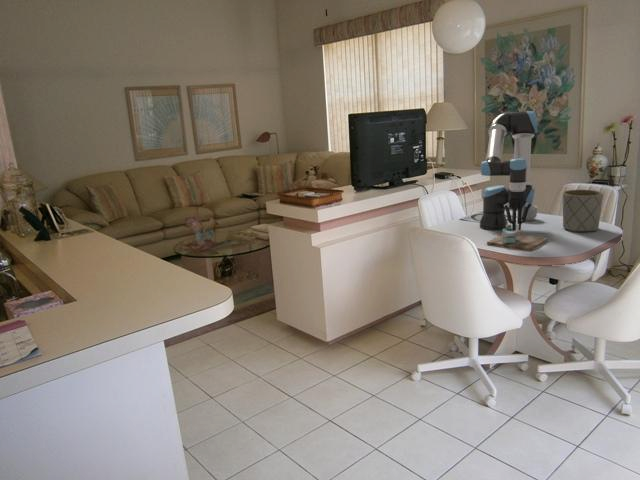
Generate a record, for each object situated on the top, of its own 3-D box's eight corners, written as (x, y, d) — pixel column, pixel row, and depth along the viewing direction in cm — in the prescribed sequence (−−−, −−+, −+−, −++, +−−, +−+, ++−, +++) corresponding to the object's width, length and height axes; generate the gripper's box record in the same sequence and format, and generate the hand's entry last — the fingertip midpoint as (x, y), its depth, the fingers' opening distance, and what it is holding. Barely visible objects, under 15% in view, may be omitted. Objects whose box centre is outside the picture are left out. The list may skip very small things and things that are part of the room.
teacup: (534, 222, 289) (535, 208, 287) (515, 221, 295) (515, 207, 293) (538, 217, 301) (539, 204, 299) (519, 216, 306) (520, 203, 304)
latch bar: (502, 232, 264) (502, 228, 264) (513, 232, 263) (513, 228, 262) (505, 242, 246) (505, 237, 245) (517, 242, 244) (517, 237, 244)
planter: (605, 233, 257) (608, 195, 252) (566, 233, 261) (568, 196, 256) (593, 224, 275) (596, 188, 270) (556, 225, 279) (558, 190, 274)
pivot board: (487, 244, 252) (487, 231, 250) (505, 235, 266) (506, 223, 264) (530, 251, 236) (531, 237, 235) (547, 241, 251) (548, 228, 249)
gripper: (506, 192, 242) (505, 239, 248) (533, 190, 241) (532, 237, 247) (501, 189, 249) (501, 235, 255) (528, 188, 248) (527, 234, 254)
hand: (516, 236), depth 251 cm, fingers closed
